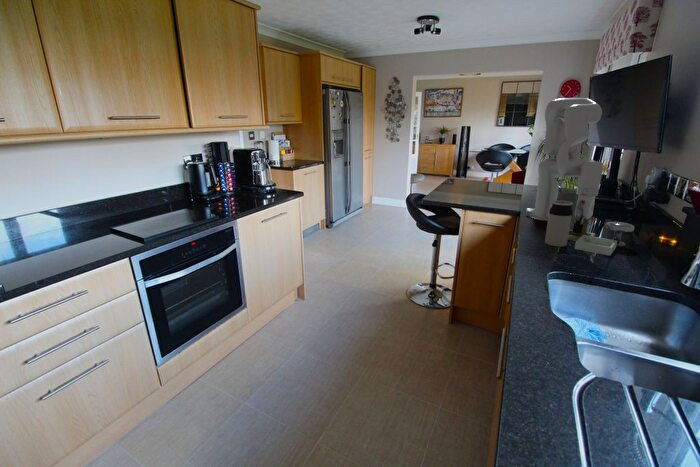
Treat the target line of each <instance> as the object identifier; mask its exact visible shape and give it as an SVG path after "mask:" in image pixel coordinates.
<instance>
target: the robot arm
mask: <svg viewBox="0 0 700 467" xmlns="http://www.w3.org/2000/svg"><path fill="white" fill-rule="evenodd" d="M602 115H603V109H602V107H601V106H600V104H599V103H597V102H596V101H594V100H592V99H590V98H588V97H565V98H556V99H552V100H551V101H549V102H548V103H547V105H546V107H545V110H544V119H545V120H544V121H545V128H546V129H545V138H544V146H543V152H544V154H545V155H546V156H557V157H550V158H544V159H542V160H541V161H540V162H539V164H538V168H537V169H538V182H537V191H536V197H535V206H534V208H526V209H525V212H526V213H530V215H529V216H530V218H532V219H533V218H534V220H538V221H546V222H548V218H549V212H550V208H551V207H552V201H557V200H558V195H559V188H560V187H559V182H558V180H557V179H556V178H577V177H578V179H577V180H578V181H577V187H576V192H575V195H577V197H578V198H577V200H576V206H575V211H574V223H573V228H572V230H573V232H575V233H582V228H583V224H582V223H583V221H584V218H586V219H589V220H590V218H591V217H592V216H593V215H594V214H593V213H594V208H595V202H596V201H595V200H596V197H597V196H598V194H599V190H600V185H601V179H602V176H603V170H604V163H603V162H602V161H596V160H594V159H591V158H590V159H589V158H588V159H586V158H582V159H581V158H580V157H581V149H582V143H583V142H585V141H587V140H588V139H589V137H590V130H589V125H590V124H593V125H594V124H597V123H598V122H599V121H600V120H601V118H602ZM575 218H576V219H575ZM581 219H582V220H581ZM588 224H589V221H588V222H587V227H588Z"/></svg>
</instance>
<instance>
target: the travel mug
mask: <svg viewBox="0 0 700 467" xmlns="http://www.w3.org/2000/svg"><path fill="white" fill-rule="evenodd" d="M573 205H574V202H572V201H570V200H569V201H568V200H561V199H559V200H558V199H557V201H552V207H551V208H550V212H549V218H548V221H547V226H546V232H545V238H544V243H545V244H547V245H548V246H551V247H559V248H561V247H562V248H563V247H566V246H567V244H568V241H569V240H568V235H569V229H570V228H571V225H572V224H571V222H572V217H573V213H574V212H573V209H572V207H573ZM570 230H571V229H570Z"/></svg>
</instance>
